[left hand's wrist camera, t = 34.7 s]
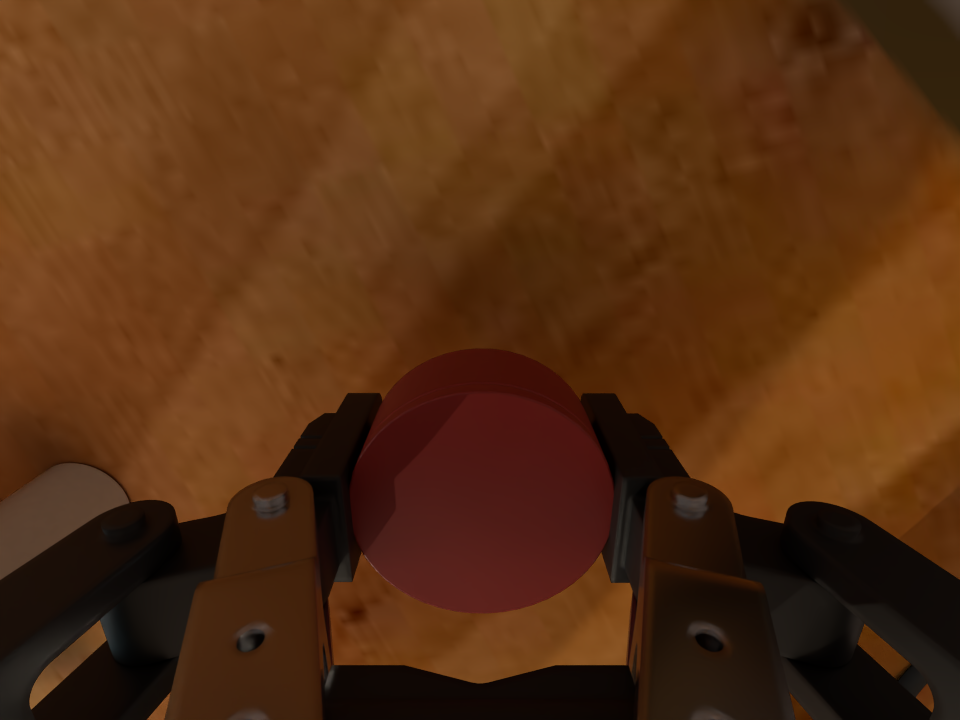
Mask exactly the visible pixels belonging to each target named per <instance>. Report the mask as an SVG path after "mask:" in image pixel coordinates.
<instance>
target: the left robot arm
mask: <svg viewBox="0 0 960 720" xmlns="http://www.w3.org/2000/svg"><path fill="white" fill-rule="evenodd" d="M580 402H581V404H582V406H583V408H584V409H585V411H586V414H587V416H588V418H589V421H590V423H591V425H592V428H593V430H594V432H595V435H596V437H597V439H598V442H599V444H600V446H601V449H602V451H603V453H604V455H605V458H606V460H607V462H608V465H609V468H610V471H611V474H612V477H613V481H614V497H613V506H612V514H611V523H610V532H609V538H608V540H607V542H606V544H605V546H604V548H603V550H602V555H603V558H604V561H605V565H606V568H607V571H608V574H609V577H610V580H611V583H630V584H631V587H632V590H633V594H632V601H631V608H630V620H629V632H628V645H627V657H626V665H555V666H551V667H547V668H543V669H539V670H536V671H532V672H528V673H524V674H520V675H516V676H512V677H508V678H504V679H500V680H496V681H493V682H489V683H483V684H477V683H471V682H467V681H464V680H460V679H456V678H452V677H448V676H444V675H440V674H436V673H432V672H428V671H424V670H421V669H417V668H413V667H409V666H405V665H334V657H333V645H332V632H331V620H330V608H329V601H328V597H329V594H330V591H331V588H332V586H333V583H334V582H352V581H353V578H354V574H355V571H356V568H357V565H358V561H359V558H360V555H361V552H362V551H361V549H360V547H359V546H358V544H357V541H356V539H355V536H354V531H353V523H352V514H351V505H350V495H349V485H350V481H351V476H352V472H353V470H354V468H355V465H356V463H357V460H358V458H359V455H360V453H361V451H362V448H363V446H364V443H365V441H366V438H367V436H368V434H369V431H370V429H371V426H372V424H373V421H374V419H375V417H376V414H377V412H378V409H379V407H380V405H381V403H382V397H381V395H380V393H348V394H347V395H346V397H345V399H344V400H343V402H342V404H341V406H340V407H339V409H338V411H337V412H336V413H324V414H323V415H321V416H320V417H318V418H317V419H315V420H314V421H312V422H311V423H309V424H308V426H307V427H306V429H305V430H304V432H303V433H302V435H301V439H298V441H297V442H296V444H295V445H294V449H292V450H291V451H290V453H289V454H288V456H287V457H286V459H285V460H284V462H283V463H282V465H281V466H280V468H279V469H278V471H277V472H276V474H275V476H274V477H273V478H268V479H264V480H261V481H258V482H255V483H253V484H251V485H249V486H247V487H245V488H244V489H242V490H240V491H239V492H238V493H237V494H236V495H235V496H234V497H233V498H232V499H231V500H230V502H229V504H228V507H227V511H226V513H225V514H221V515H217V516H212V517H207V518H202V519H197V520H192V521H187V522H182V523H178V520H177V516H176V512H175V509H174V507H173V506H172V505H171V504H169V503H167V502H164V501H159V500H144V501H137V502H132V503H128V504H124V505H121V506H118V507H115V508H113V509H110V510H108V511H106V512H104V513H102V514H100V515H98V516H96V517H95V518H93V519H91V520H90V521H88V522H87V523H85V524H84V525H82V526H81V527H79V528H78V529H76V530H75V531H73V532H72V533H70V534H69V535H67V536H66V537H64V538H63V539H61V540H60V541H58V542H57V543H55V544H54V545H52V546H51V547H49V548H48V549H46V550H45V551H43V552H42V553H40V554H39V555H37V556H36V557H34V558H33V559H31V560H30V561H28V562H27V563H25V564H24V565H22V566H21V567H19V568H18V569H16V570H15V571H13V572H12V573H10V574H9V575H7V576H5V577H4V578H2V579H1V580H0V720H147V719H148V717H149V716H150V715H151V714H152V713H153V712H154V710H155V709H156V708H157V707H158V706H159V705H160V703H161V702H162V701H163V700H164V699H165V698H166V697H167V695H168V694H169V693H170V692H171V694H170V698H169V703H168V707H167V711H166V715H165V720H795V715H794V711H793V707H792V703H791V698H790V694H789V692H790V693H791V694H792V695H793V696H794V698H795V699H796V700H797V701H798V702H799V703H800V705H801V706H802V707H803V708H804V709H805V710H806V712H807V713H808V714H809V715H810V716H811V717H812V719H813V720H960V580H959V579H958V578H956V577H955V576H953V575H952V574H950V573H948V572H947V571H945V570H944V569H942V568H941V567H939V566H938V565H936V564H935V563H933V562H932V561H930V560H929V559H927V558H926V557H924V556H923V555H921V554H920V553H918V552H917V551H915V550H914V549H912V548H911V547H909V546H908V545H906V544H905V543H903V542H902V541H900V540H899V539H897V538H896V537H894V536H893V535H891V534H890V533H888V532H887V531H885V530H884V529H882V528H881V527H879V526H878V525H876V524H875V523H873V522H872V521H870V520H868V519H867V518H865V517H863V516H861V515H859V514H857V513H855V512H853V511H851V510H848V509H846V508H843V507H840V506H837V505H833V504H829V503H823V502H815V501H806V502H799V503H796V504H794V505H792V506H790V507H789V508H788V511H787V513H786V517H785V521H784V524H783V523H778V522H773V521H768V520H763V519H758V518H753V517H748V516H744V515H740V514H737V513H734V511H733V507H732V504H731V502H730V500H729V499H728V498H727V497H726V496H725V495H724V494H723V493H722V492H721V491H720V490H718V489H716V488H715V487H713V486H711V485H709V484H707V483H705V482H702V481H699V480H696V479H692V478H690V477H689V475H688V474H687V472H686V471H685V469H684V468H683V466H682V465H681V463H680V462H679V460H678V459H677V457H676V456H675V455H674V453H673V452H672V450H670V449H669V446H668V444H667V443H666V441H665V440H664V439H662V435H661V434H660V432H659V431H658V429H657V428H656V426H655V425H654V424H653V423H651V422H650V421H648V420H647V419H645V418H644V417H642V416H641V415H639V414H627V413H626V411H625V409H624V408H623V406H622V404H621V403H620V401H619V399H618V398H617V396H616V395H615V394H614V393H583V394H582V396H581V401H580ZM99 620H100V622H101V625H102V627H103V630H104V633H105V636H106V639H107V641H106V642H105V643H104V644H102V645H101V646H100V647H99V648H98V649H97V650H96V651H95V652H94V653H93V654H92V655H90V656H89V657H88V658H87V659H86V660H85V661H84V662H83V663H82V664H81V665H80V666H78V667H77V668H76V669H75V670H74V671H73V672H72V673H71V674H70V675H69V676H68V677H66V678H65V679H64V680H63V681H62V682H61V683H60V684H59V685H58V686H57V687H56V688H54V689H53V690H52V691H51V692H50V693H49V694H48V695H47V696H46V697H45V698H44V699H42V700H41V701H40V702H39V703H38V704H37V705H36V706H35V707H34V708H33V709H32V710H31V709H30V705H29V698H30V693H31V690H32V687H33V685H34V683H35V681H36V680H37V678H38V676H39V675H40V674H41V672H42V671H43V670H44V669H45V667H46V666H47V665H48V664H49V663H50V662H51V661H53V660H54V659H55V658H56V657H57V656H58V655H60V654H61V653H62V652H63V651H64V650H65V649H66V648H68V647H69V646H70V645H71V644H72V643H73V642H75V641H76V640H77V639H78V638H79V637H80V636H81V635H83V634H84V633H85V632H86V631H87V630H88V629H90V628H91V627H92V626H93V625H94V624H95V623H97V622H98V621H99ZM864 623H865V624H866V625H867V626H868V627H869V628H870V629H872V630H873V631H874V632H875V633H876V634H877V635H879V636H880V637H881V638H882V639H883V640H884V641H885V642H887V643H888V644H889V645H890V646H891V647H892V648H894V649H895V650H896V651H897V652H898V653H899V654H900V655H902V656H903V657H904V658H905V659H906V660H907V661H909V662H910V663H911V664H912V666H911V667H910V668H909V669H908V670H907V671H906V672H905V673H904V675H903V676H902V677H901V678H900V679H899V681H897V680H896V679H895V678H894V677H892V676H891V675H890V674H889V673H888V672H887V671H886V670H885V669H884V668H883V667H882V666H880V665H879V664H878V663H877V662H876V661H875V660H874V659H873V658H872V657H871V656H870V655H868V654H867V653H866V652H865V651H864V650H863V649H862V648H861V647H860V646H859V645H858V644H857V643H858V640H859V637H860V634H861V631H862V629H863V626H864ZM926 684H928V685H929V687H930V690H931V692H932V695H933V699H934V709H933V712H931V711H930V710H928V709H927V708H926V707H925V706H924V705H923V704H922V703H921V702H920V701H919V700H918V699H916V698H915V697H916V696H917V695H918V693H919V692H920V691H921V690H922V688H923V687H924V686H925V685H926Z"/></svg>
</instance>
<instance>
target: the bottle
mask: <svg viewBox="0 0 960 720" xmlns="http://www.w3.org/2000/svg"><path fill="white" fill-rule="evenodd" d="M128 503H129V500H128V498H127V496H126V494H125V492H124V491H123V489H122V488H121V487H120V485H119V484H118V483H117V482H116V481H115V480H113V479H112V478H111V477H110V476H108V475H107V474H105V473H104V472H102V471H100V470H98V469H96V468H94V467H91V466H88V465H84V464H78V463H63V464H59V465H55V466H53V467H51V468H49V469H47V470H46V471H44V472H43V473H41V474H40V475H38V476H37V477H35V478H34V479H32V480H31V481H29V482H28V483H26V484H25V485H24V486H22V487H21V488H19V489H18V490H16V491H15V492H13V493H12V494H10V495H9V496H7V497H6V498H4V499H3V500H1V501H0V580H1V579H2V578H4V577H5V576H7V575H9V574H10V573H12V572H13V571H15V570H16V569H18V568H19V567H21V566H22V565H24V564H25V563H27V562H28V561H30V560H31V559H33V558H34V557H36V556H37V555H39V554H40V553H42V552H43V551H45V550H46V549H48V548H49V547H51V546H52V545H54V544H55V543H57V542H58V541H60V540H61V539H63V538H64V537H66V536H67V535H69V534H70V533H72V532H73V531H75V530H76V529H78V528H79V527H81V526H82V525H84V524H85V523H87V522H88V521H90V520H91V519H93V518H95V517H96V516H98V515H100V514H102V513H104V512H106V511H108V510H110V509H113V508H115V507H118V506H121V505H124V504H128Z"/></svg>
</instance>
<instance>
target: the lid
mask: <svg viewBox="0 0 960 720" xmlns="http://www.w3.org/2000/svg"><path fill="white" fill-rule="evenodd" d="M349 495H350V505H351V514H352V523H353V531H354V536H355V539H356V541H357V544H358V546H359V547H360V549H361V551H362V552H363V554H364V556H365V558H366V559H367V560H368V561H369V563H370V564H371V565H372V566H373V568H374V569H375V570H376V571H377V572H378V573H379V574H380V575H381V576H382V577H383V578H384V579H385V580H387V581H388V582H389V583H391V584H392V585H393V586H394V587H396V588H397V589H399V590H400V591H402V592H404V593H405V594H407V595H409V596H411V597H413V598H415V599H417V600H419V601H422V602H424V603H427V604H430V605H433V606H436V607H439V608H443V609H447V610H452V611H458V612H466V613H497V612H505V611H511V610H516V609H520V608H524V607H527V606H531V605H534V604H536V603H539V602H541V601H544V600H546V599H548V598H550V597H552V596H554V595H556V594H558V593H560V592H561V591H563V590H564V589H566V588H567V587H569V586H570V585H571V584H573V583H574V582H575V581H576V580H578V579H579V578H580V577H581V576H582V575H583V574H584V573H585V572H586V571H587V570H588V569H589V568H590V567H591V565H592V564H593V563H594V562H595V561H596V559H597V558H598V556H599V555H600V553H601V552H602V550H603V548H604V546H605V544H606V542H607V540H608V538H609V532H610V523H611V514H612V506H613V497H614V481H613V477H612V474H611V471H610V468H609V465H608V462H607V460H606V458H605V455H604V453H603V451H602V449H601V446H600V444H599V442H598V439H597V437H596V435H595V432H594V430H593V428H592V425H591V423H590V421H589V418H588V416H587V414H586V411H585V409H584V408H583V406H582V404H581V402H580V400H579V398H578V397H577V396H576V394H575V393H574V391H573V390H572V389H571V387H570V386H569V385H568V384H567V383H566V382H565V381H564V380H563V379H562V378H561V377H560V376H558V375H557V374H556V373H554V372H553V371H552V370H551V369H549V368H547V367H546V366H544V365H542V364H541V363H539V362H537V361H535V360H533V359H530V358H528V357H526V356H523V355H520V354H516V353H513V352H509V351H503V350H496V349H467V350H459V351H455V352H451V353H446V354H443V355H441V356H438V357H435V358H432V359H430V360H428V361H426V362H424V363H422V364H421V365H419V366H417V367H416V368H414V369H413V370H411V371H410V372H408V373H407V374H406V375H405V376H404V377H402V378H401V379H400V380H399V381H398V382H397V383H396V384H395V385H394V386H393V388H392V389H391V390H390V391H389V393H388V394H387V395H386V397H385V398H384V400H383V402H382V403H381V405H380V407H379V409H378V412H377V414H376V417H375V419H374V421H373V424H372V426H371V429H370V431H369V434H368V436H367V438H366V441H365V443H364V446H363V448H362V451H361V453H360V455H359V458H358V460H357V463H356V465H355V468H354V470H353V472H352V476H351V481H350V485H349Z"/></svg>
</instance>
